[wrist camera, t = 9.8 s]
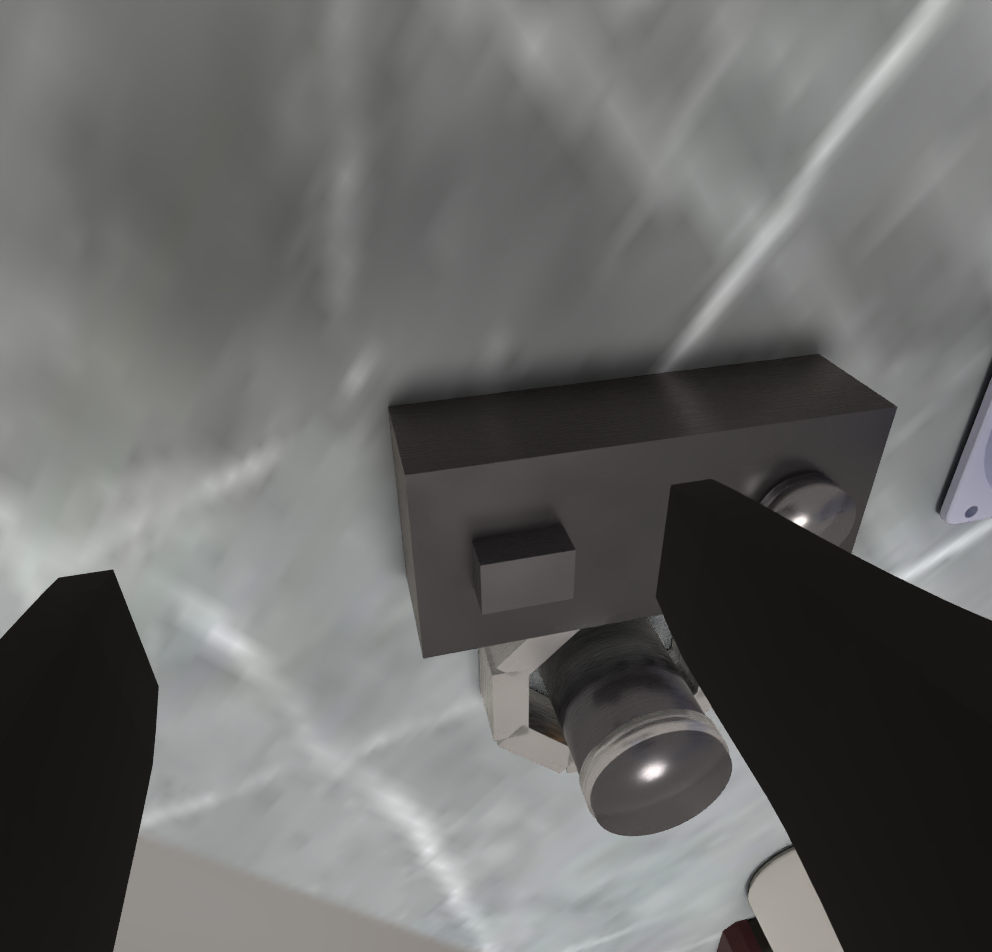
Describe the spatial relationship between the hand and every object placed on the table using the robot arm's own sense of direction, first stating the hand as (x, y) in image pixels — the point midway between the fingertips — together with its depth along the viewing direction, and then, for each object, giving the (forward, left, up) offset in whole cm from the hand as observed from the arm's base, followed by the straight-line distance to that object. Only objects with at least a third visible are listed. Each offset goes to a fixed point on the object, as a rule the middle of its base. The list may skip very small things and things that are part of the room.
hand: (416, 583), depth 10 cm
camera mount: (-7, +10, -10) cm, 16 cm away
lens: (-7, +14, -10) cm, 18 cm away
